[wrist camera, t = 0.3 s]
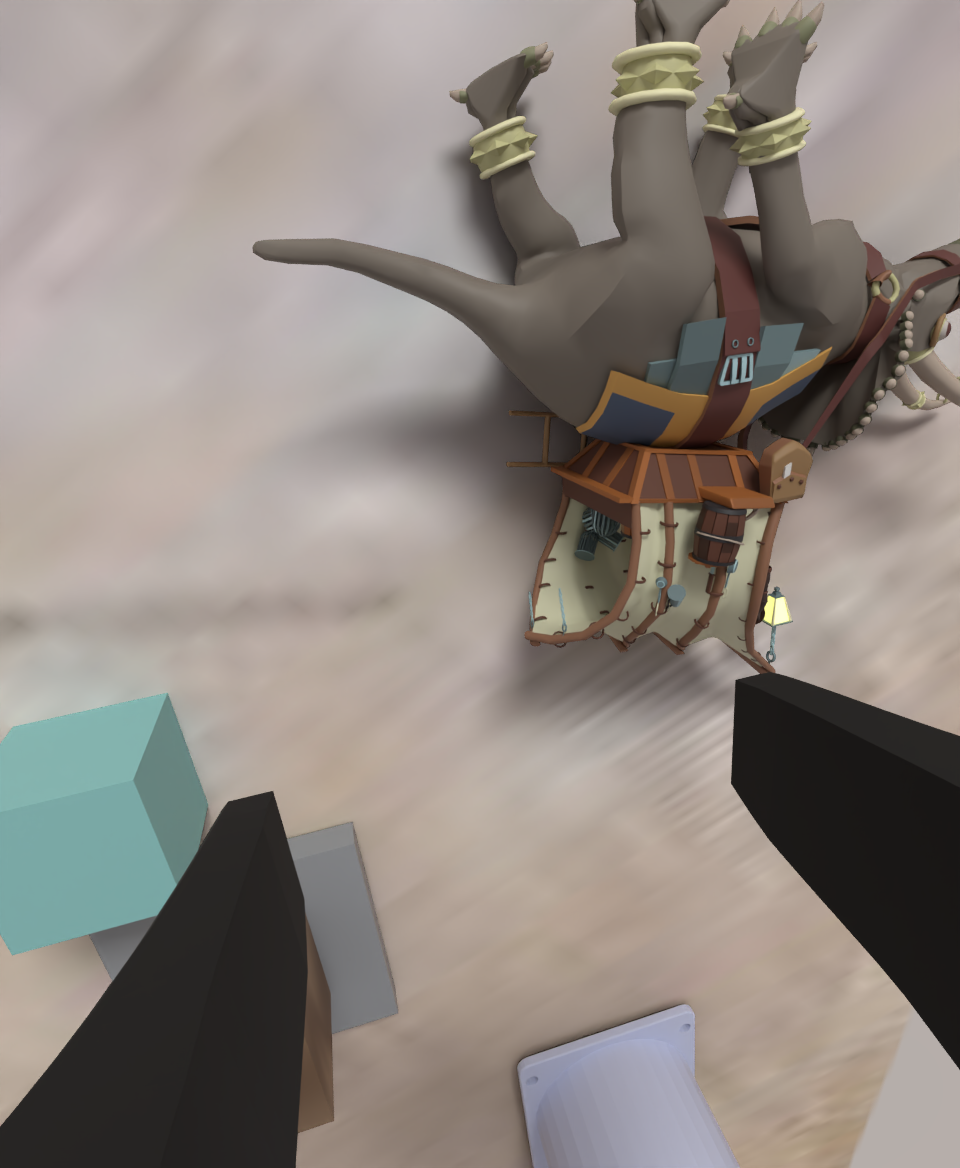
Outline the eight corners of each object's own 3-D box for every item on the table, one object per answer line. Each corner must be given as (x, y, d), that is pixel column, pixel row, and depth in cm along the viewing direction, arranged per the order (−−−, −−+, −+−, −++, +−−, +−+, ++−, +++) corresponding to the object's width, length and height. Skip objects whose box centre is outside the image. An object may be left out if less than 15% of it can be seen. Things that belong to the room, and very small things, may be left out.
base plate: (395, 987, 24) (398, 1013, 24) (171, 1056, 23) (165, 1086, 22) (352, 822, 21) (354, 843, 20) (90, 890, 20) (80, 917, 19)
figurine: (1251, -43, 13) (1044, 684, 20) (961, 65, 18) (876, 606, 25) (184, -78, 8) (388, 893, 15) (216, 82, 14) (355, 742, 20)
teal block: (208, 802, 20) (185, 907, 16) (68, 838, 19) (11, 955, 16) (168, 691, 18) (133, 779, 15) (14, 725, 18) (-62, 826, 14)
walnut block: (330, 992, 22) (334, 1120, 19) (209, 1029, 22) (189, 1170, 18) (304, 908, 21) (302, 1029, 17) (172, 945, 20) (142, 1080, 17)
